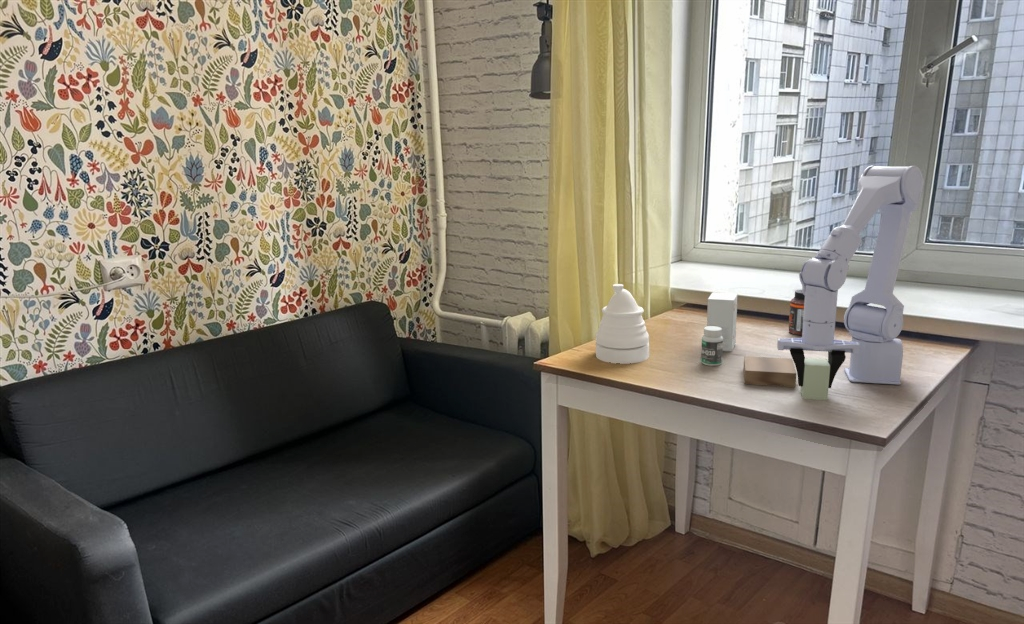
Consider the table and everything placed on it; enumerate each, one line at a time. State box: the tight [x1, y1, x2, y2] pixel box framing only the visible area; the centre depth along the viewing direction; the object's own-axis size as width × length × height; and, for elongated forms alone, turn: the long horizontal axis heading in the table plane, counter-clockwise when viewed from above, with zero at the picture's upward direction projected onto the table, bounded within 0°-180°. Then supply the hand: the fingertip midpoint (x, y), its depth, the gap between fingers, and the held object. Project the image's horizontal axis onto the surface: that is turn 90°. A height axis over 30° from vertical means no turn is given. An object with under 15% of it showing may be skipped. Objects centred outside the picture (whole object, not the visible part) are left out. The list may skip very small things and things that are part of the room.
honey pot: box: [595, 283, 650, 365], centre depth 162 cm, size 13×13×18 cm
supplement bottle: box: [788, 289, 805, 336], centre depth 176 cm, size 6×6×11 cm
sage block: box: [799, 357, 830, 401], centre depth 133 cm, size 4×4×7 cm
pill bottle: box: [700, 325, 724, 367], centre depth 155 cm, size 5×5×8 cm
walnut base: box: [743, 355, 797, 388], centre depth 145 cm, size 10×10×3 cm
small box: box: [706, 291, 739, 352], centre depth 167 cm, size 8×6×13 cm
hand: (814, 385), depth 134 cm, fingers closed on sage block, 4 cm apart
